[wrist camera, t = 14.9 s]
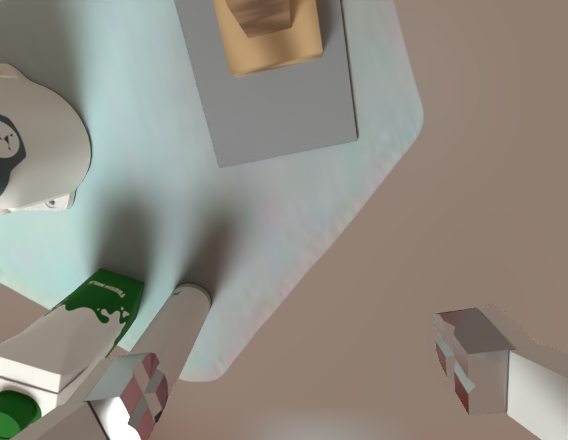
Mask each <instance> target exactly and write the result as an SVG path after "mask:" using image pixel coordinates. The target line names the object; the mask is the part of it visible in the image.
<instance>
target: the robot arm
mask: <svg viewBox="0 0 568 440" xmlns="http://www.w3.org/2000/svg"><path fill="white" fill-rule="evenodd" d="M90 158H91V149H90V142H89V138H88V134H87V132H86V129H85V127H84V125H83V123H82V121H81V119H80V117H79V116H78V114H77V113H76V112H75V110H74V109H73V108H72V107H71V106H70V105H69V104H68V103H67V102H66V101H65V100H64V99H63V98H62V97H61V96H59V95H58V94H56V93H55V92H53V91H52V90H50V89H48V88H46V87H44V86H41V85H39V84H36V83H34V82H32V81H30V80H28V79H27V78H26V77H25V76H24V75H23V74H22V73H21V72H19V71H18V70H17V69H16V68H14V67H13V66H11V65H10V64H5V63H0V215H1V214H7V213H10V212H11V211H16V210H65V209H69V208H70V207H71V206H72V204H73V201H74V196H75V190H76V188H77V187H78V185H79V184H80V183H81V181H82V180H83V179H84V177H85V175H86V173H87V171H88V168H89V164H90ZM53 200H54V201H55V203H54V202H53ZM434 326H435V328H436V329H437V331H438V332H439V335H438V336H437V338H436V339H435V343H436V351H437V355H438V358H439V362H440V364H441V367H442V369H443V370H444V372H445V374H446V376H447V377H448V378H450V379H452V380H453V381H455V392H456V394H457V395H458V397H459V399H460V401H461V402H462V404H463V406H464V408H465V409H466V411H467V413H468V414H469V415H478V414H493V413H506V412H507V414H508V415H509V416H510V417H512V418H513V419H514V420H516V421H517V422H518V423H520V424H521V425H522V426H524V427H525V428H526V429H528V430H529V431H531V432H532V433H533V434H535V435H536V436H537V437H539V438H540V439H542V440H568V354H567V353H565V352H562V351H560V350H557V349H555V348H553V347H550V346H540V345H539V344H538V343H537V342H536V341H535V340H534V339H533V338H532V337H531V336H530V335H528V333H526V332H525V331H524V330H523V329H522V328H521V327H520V326H519V325H518V324H517V323H516V322H515V321H514V320H513V319H511V318H510V317H509V316H508V315H507V314H506V313H505V312H504V311H503V310H502V309H501V308H500V307H499V306H497V305H494V304H491V305H486V306H479V307H474V308H470V309H463V310H456V311H449V312H442V313H435V317H434ZM159 363H160V362H159V360H158V358H157V356H156V354H155V353H151V352H149V353H140V354H131V355H123V356H115V357H107V358H104V359H102V360H100V361H99V363H98V364H97V365H96V366H95V367H94V369H93V370H92V371H91V372H90V374H89V375H88V376H87V377H86V378H85V380H84V381H83V382H82V383H81V385H80V386H79V387H78V388H77V389H76V391H75V392H74V393H73V394H72V396H71V397H70V398H69V399H68V400H67V402H66V403H65V404H64V405H59V406H57V407H56V408H54V409H53V410H51V411H50V412H48V413H47V414H45V415H44V416H43V417H41V418H40V419H38V420H37V421H35V422H34V423H32V424H31V425H30V426H28V427H27V428H25V429H24V430H22V431H21V432H19V433H18V434H16V435H15V436H14V437H12V438H11V439H9V440H148V439H149V437H150V435H151V433H152V431H153V428H154V426H155V420H154V417H155V416H156V415H157V414H158V413H159V412H160V411H161V410H162V409H163V407H164V405H165V402H166V400H167V393H168V384H167V379H166V377H165V374H163V373H162V372H161V371H159V370H158V369H157V368H158V366H159Z"/></svg>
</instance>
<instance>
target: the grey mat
mask: <svg viewBox="0 0 568 440" xmlns="http://www.w3.org/2000/svg"><path fill="white" fill-rule="evenodd" d="M174 2H175V5H176V9H177V13H178V16H179V20H180V24H181V28H182V31H183V35H184V39H185V43H186V46H187V50H188V54H189V58H190V61H191V65H192V69H193V72H194V76H195V80H196V84H197V87H198V91H199V95H200V99H201V102H202V106H203V110H204V113H205V117H206V121H207V125H208V128H209V132H210V136H211V140H212V143H213V147H214V151H215V155H216V158H217V162H218V166H219V168H223V167H228V166H233V165H238V164H243V163H248V162H253V161H258V160H263V159H268V158H273V157H278V156H283V155H288V154H293V153H298V152H303V151H308V150H313V149H318V148H323V147H328V146H333V145H338V144H343V143H348V142H353V141H357V134H356V126H355V118H354V110H353V102H352V94H351V86H350V78H349V70H348V62H347V53H346V45H345V37H344V29H343V21H342V13H341V5H340V0H316V6H317V13H318V20H319V27H320V34H321V41H322V48H323V53H322V56H321V58H320V59H316V60H312V61H307V62H303V63H299V64H294V65H290V66H286V67H281V68H277V69H273V70H268V71H264V72H260V73H255V74H251V75H247V76H243V77H238V78H237V77H235V76H234V75H232V74H230V71H229V67H228V62H227V58H226V54H225V49H224V45H223V41H222V37H221V32H220V28H219V24H218V20H217V15H216V11H215V7H214V2H213V0H174Z"/></svg>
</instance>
